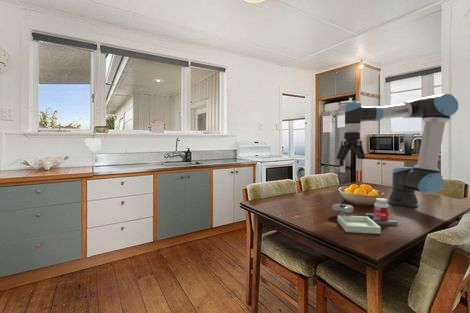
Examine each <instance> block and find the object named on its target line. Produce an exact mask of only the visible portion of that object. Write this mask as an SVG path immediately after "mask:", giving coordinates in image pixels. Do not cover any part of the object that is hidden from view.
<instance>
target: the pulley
mask: <svg viewBox="0 0 470 313" xmlns="http://www.w3.org/2000/svg"><path fill="white" fill-rule="evenodd" d="M331 208H332V210H333V211H335V212H338V213H339V215H343V216H346V213H348V214H349V213H354V206H353V205H350V204H346V203H345V204H344V203H333V204H332V206H331Z"/></svg>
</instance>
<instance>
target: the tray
mask: <svg viewBox="0 0 470 313" xmlns="http://www.w3.org/2000/svg"><path fill="white" fill-rule="evenodd" d="M336 218H337V222H338V224H339V225H340V226H341V227H342V229H343V230H344V232H346V233H360V234H361V233H362V234H363V233H364V234H374V235H375V234H379V235H381V233H382V227H381V225H377V224H376V223H375V222H374V221H373V220H374V219H372V218H369V217H365V216H360V215H345V216H343V215H340V214H339V215H337V217H336Z"/></svg>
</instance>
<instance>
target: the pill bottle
mask: <svg viewBox="0 0 470 313" xmlns="http://www.w3.org/2000/svg"><path fill="white" fill-rule="evenodd" d="M375 201H376V202H374V204H373V214H374V216H373V218H372V220H389V210H390V208H389V207H390V206H389V203H388V198H382V197H378V198H375Z"/></svg>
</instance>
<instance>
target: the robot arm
mask: <svg viewBox="0 0 470 313" xmlns="http://www.w3.org/2000/svg"><path fill="white" fill-rule="evenodd" d="M458 110H459V101H458V99H457V98H456V97H455V96H454V95H453V94H451V93H439V94H435V95H430V96H425V97H420V98H416V99H413V100H408V101H404V102H401V103H400V104H399V103H398V104H391V105H384V106H376V105H374V106H362V102H360V101H351V102H347V103H346V104H345V107H344V134H343V139H344V140H342V141H341V143H340V146H339V150H338V152H337V154H336V159H337V160H339V173H344V174H345V173H346V157H347V156H348V154H349V152H350V151H351V150H353V152H354V154H355V156H356V160H355V161H356V162H355V170H356V171H359V172H362V168H363V167H362V165H363V160H364V159H365V157H366V155H365V151H364V148H363V141H362V140H360V139H361V132H360V131H361V123H362V122H375V121H376V122H379V121H381V120H386V119H387V120H388V119H395V118H403V119H409V118H410V119H412V118H413V119H415V118H418V119H419V118H420V119H421V118H422V121H424V126H423V131H422V138H421V143H420V147H419V154H418V157H417V158H418V159H417V164H415V165H414V166H413V167H412V166H411V167H410V166H405V167H404V166H403V167H402V166H401V167H400V166H399V167H394V168H393V169H392V177H391V178H392V180H391V181H392V182H391V192H390V193H389V196H388V198H387V204H390V205H393V206H397V207H405V208H417V207H418V206H419V200H418V198H417V195H416V192H420V193H422V194H430V195H433V194H435V193H438V191H440V190H441V189H442V188H443V187H444V183H445V179H444V177H443V175H442V174H440V172H441V170H440V169H439V168H438V165H439V164H438V163H439V158H440V153H441V146H442V142H443V136H444V131H445V126H446V124H447V123H448V122H449V121H450V119H451V116H453V115H455V113H457V112H458Z"/></svg>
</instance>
